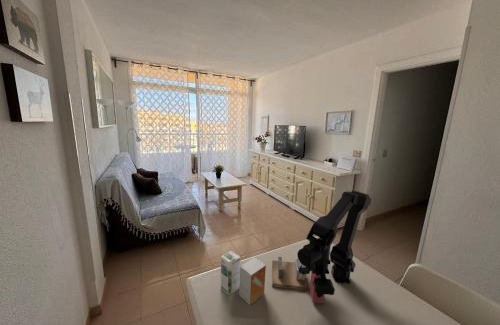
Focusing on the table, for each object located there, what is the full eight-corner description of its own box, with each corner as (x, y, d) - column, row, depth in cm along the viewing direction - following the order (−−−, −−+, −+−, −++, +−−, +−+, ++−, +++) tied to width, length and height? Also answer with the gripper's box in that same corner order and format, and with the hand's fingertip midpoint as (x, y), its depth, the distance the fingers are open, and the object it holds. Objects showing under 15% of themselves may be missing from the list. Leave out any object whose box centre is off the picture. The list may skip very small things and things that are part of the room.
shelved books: (302, 268, 92) (302, 259, 91) (304, 280, 85) (305, 270, 84) (294, 267, 92) (295, 258, 92) (296, 279, 86) (297, 270, 85)
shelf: (301, 266, 96) (302, 263, 95) (306, 290, 82) (307, 287, 82) (272, 263, 97) (272, 260, 97) (272, 286, 84) (272, 283, 83)
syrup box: (220, 288, 82) (220, 256, 79) (231, 280, 86) (231, 249, 83) (229, 296, 78) (229, 263, 75) (240, 287, 82) (241, 256, 79)
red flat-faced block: (319, 289, 82) (322, 270, 80) (323, 303, 76) (326, 282, 74) (309, 288, 82) (311, 269, 80) (312, 301, 76) (314, 281, 74)
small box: (250, 306, 74) (251, 275, 72) (238, 295, 79) (239, 266, 76) (264, 293, 80) (266, 264, 77) (253, 284, 84) (254, 256, 82)
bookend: (281, 265, 94) (281, 257, 93) (281, 278, 86) (282, 269, 85) (277, 265, 94) (278, 256, 93) (278, 278, 86) (279, 269, 85)
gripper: (295, 238, 85) (293, 270, 88) (302, 270, 67) (298, 309, 70) (323, 240, 84) (319, 273, 87) (337, 273, 66) (332, 313, 69)
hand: (316, 290), depth 78 cm, fingers closed on red flat-faced block, 6 cm apart
